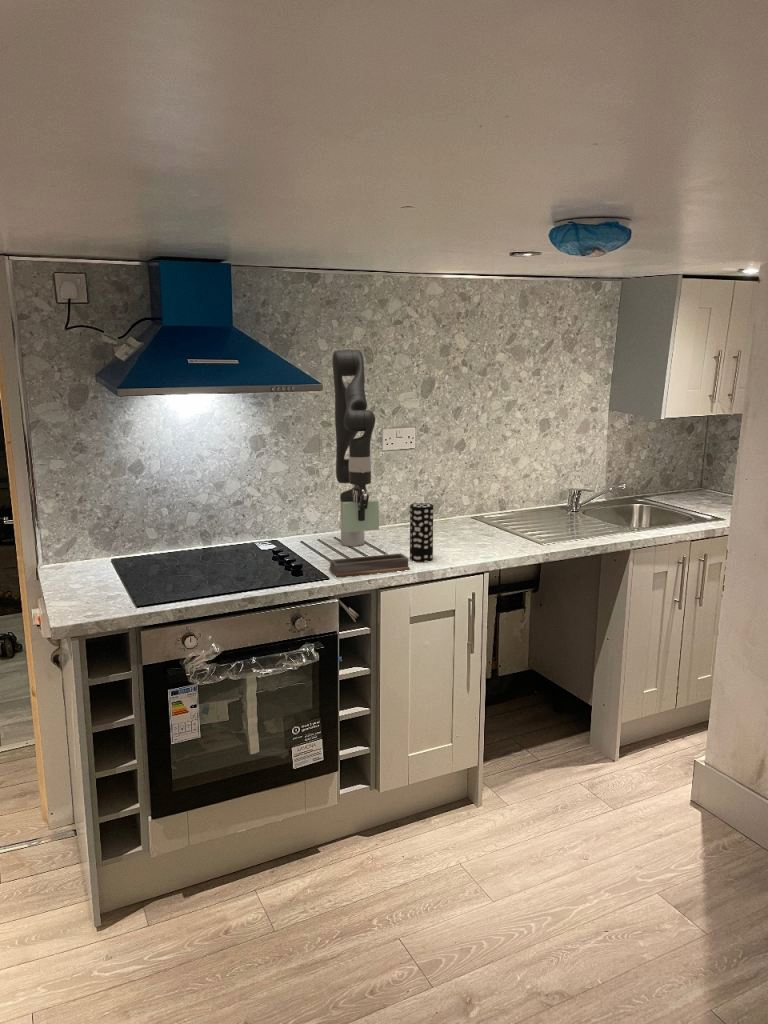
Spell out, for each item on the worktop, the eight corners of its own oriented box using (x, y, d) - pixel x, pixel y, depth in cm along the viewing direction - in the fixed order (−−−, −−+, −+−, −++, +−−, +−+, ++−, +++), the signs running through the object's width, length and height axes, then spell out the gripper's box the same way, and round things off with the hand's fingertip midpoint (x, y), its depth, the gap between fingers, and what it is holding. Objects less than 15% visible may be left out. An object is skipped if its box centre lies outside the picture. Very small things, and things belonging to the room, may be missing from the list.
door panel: (343, 530, 267) (342, 502, 265) (376, 528, 270) (376, 499, 268) (345, 532, 264) (344, 503, 262) (378, 529, 268) (378, 501, 266)
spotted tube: (406, 557, 285) (406, 504, 280) (427, 555, 288) (427, 502, 283) (415, 563, 277) (415, 508, 273) (436, 561, 280) (437, 506, 276)
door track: (329, 569, 269) (328, 558, 269) (399, 563, 278) (399, 552, 277) (336, 578, 260) (336, 566, 259) (409, 570, 268) (409, 559, 268)
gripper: (343, 467, 268) (344, 516, 272) (354, 473, 256) (355, 524, 259) (364, 466, 271) (365, 515, 274) (376, 471, 258) (376, 523, 261)
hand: (360, 519), depth 266 cm, fingers closed on door panel, 2 cm apart
